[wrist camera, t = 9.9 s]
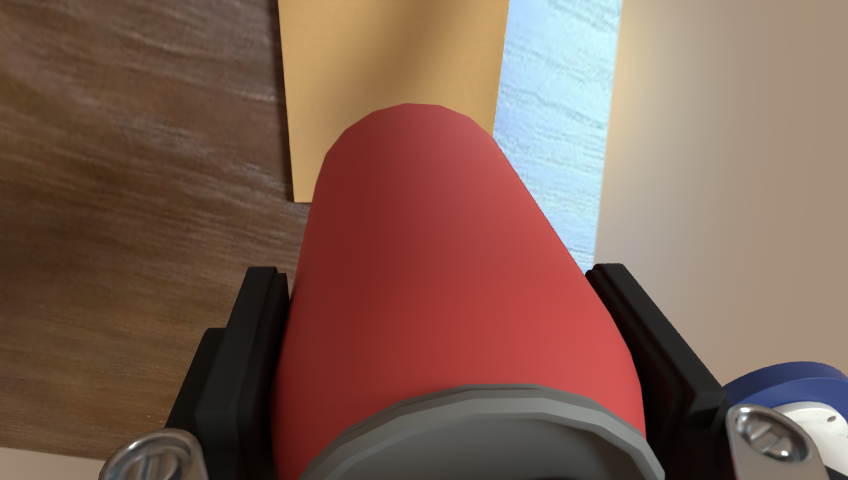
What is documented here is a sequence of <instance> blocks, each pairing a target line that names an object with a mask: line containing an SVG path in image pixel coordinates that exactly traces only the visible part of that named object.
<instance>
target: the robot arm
mask: <svg viewBox="0 0 848 480" xmlns="http://www.w3.org/2000/svg"><path fill="white" fill-rule="evenodd" d="M585 277H586V279H587V280H588V282H589V283H590V285H591V286H592V288H593V289H594V291H595V292H596V294H597V295H598V297H599V298H600V300H601V301H602V303H603V304H604V306H605V307H606V309H607V310H608V312H609V313H610V315H611V317H612V319H613V321H614V323H615V325H616V326H617V328H618V330H619V332H620V334H621V336H622V338H623V340H624V341H625V343H626V345H627V347H628V349H629V351H630V353H631V356H632V360H633V363H634V366H635V369H636V372H637V375H638V379H639V382H640V385H641V393H642V401H643V410H644V419H645V431H646V441H647V443H648V445H649V446H650V448H651V450H652V451H653V453H654V455H655V457H656V458H657V460H658V462H659V463H660V465H661V467H662V469H663V470H664V472H665V480H848V438H847V437H848V424H847V422H846V420H845V419H844V418H843V417H842V416H841V415H840V414H839V413H838V412H837V411H836V410H835V409H834V408H832V407H831V406H829V405H826V404H823V403H820V402H811V401H804V402H793V403H788V404H783V405H780V406H777V407H773V408H771V409H770V408H768V407H765V406H762V405H756V404H750V403H746V404H737V405H735V406H733V405H732V404H731V403H730V401H729V400H728V399H727V398H726V396H725V395H726V391H725V390H724V389H723V388H722V387H721V385H720V384H719V383H718V381H717V380H716V379H715V378H714V376H713V375H712V374H711V373H710V371H709V370H708V369H707V368H706V366H705V365H704V364H703V363H702V362H701V360H700V359H699V358H698V357H697V355H696V354H695V353H694V352H693V350H692V349H691V348H690V347H689V345H688V344H687V343H686V342H685V340H684V339H683V338H682V337H681V336H680V334H679V333H678V332H677V331H676V329H675V328H674V327H673V326H672V324H671V323H670V322H669V321H668V319H667V318H666V317H665V316H664V315H663V313H662V312H661V311H660V309H659V308H658V307H657V306H656V305H655V303H654V302H653V301H652V300H651V298H650V297H649V296H648V295H647V293H646V292H645V291H644V290H643V288H642V287H641V286H640V285H639V283H638V282H637V281H636V280H635V279H634V277H633V276H632V275H631V274H630V272H629V271H628V270H627V269H626V267H625V266H624V265H623V264H619V263H618V264H617V263H614V264H609V263H607V264H596V265H594V267H593V269H592V270H588V271H587V272H586V274H585ZM288 306H289V293H288V283H287V276H286V273H278V271H277V268H276V267H249V268H248V270H247V272H246V275H245V278H244V281H243V283H242V286H241V289H240V291H239V294H238V297H237V299H236V302H235V305H234V308H233V310H232V313H231V316H230V318H229V321H228V324H227V326H226V328H208V329H207V330H206V331H205V333H204V335H203V337H202V339H201V342H200V344H199V347H198V349H197V351H196V354H195V356H194V358H193V361H192V363H191V366H190V368H189V370H188V373H187V375H186V377H185V380H184V382H183V385H182V387H181V389H180V392H179V394H178V396H177V399H176V401H175V403H174V406H173V408H172V411H171V413H170V415H169V418H168V420H167V422H166V425H165V427H164V428H160V429H156V430H152V431H148V432H145V433H143V434H141V435H138V436H136V437H134V438H132V439H130V440H129V441H127V442H126V443H125V444H123V445H122V446H120V447H119V448H118V449H117V450H116V451H115V452H114V453H113V454H112V455H111V456H110V457H109V458H108V459H107V460H106V462H105V464H104V466H103V468H102V470H101V472H100V473H99V479H98V480H276V477H275V473H274V463H273V453H272V443H271V432H270V416H269V401H268V397H269V392H270V387H271V383H272V378H273V374H274V369H275V365H276V360H277V356H278V351H279V347H280V342H281V338H282V333H283V329H284V324H285V320H286V315H287V311H288Z"/></svg>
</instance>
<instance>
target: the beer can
mask: <svg viewBox="0 0 848 480" xmlns="http://www.w3.org/2000/svg"><path fill="white" fill-rule="evenodd" d="M268 401H269V416H270V432H271V443H272V453H273V463H274V473H275V477H276V480H665V472H664V470H663V469H662V467H661V465H660V463H659V462H658V460H657V458H656V457H655V455H654V453H653V451H652V450H651V448H650V446H649V445H648V443H647V441H646V431H645V419H644V410H643V401H642V393H641V385H640V382H639V379H638V375H637V372H636V369H635V366H634V363H633V360H632V356H631V353H630V351H629V349H628V347H627V345H626V343H625V341H624V340H623V338H622V336H621V334H620V332H619V330H618V328H617V326H616V325H615V323H614V321H613V319H612V317H611V315H610V313H609V312H608V310H607V309H606V307H605V306H604V304H603V303H602V301H601V300H600V298H599V297H598V295H597V294H596V292H595V291H594V289H593V288H592V286H591V285H590V283H589V282H588V280H587V279H586V277H585V276H584V274H583V273H582V271H581V270H580V268H579V267H578V265H577V264H576V262H575V261H574V259H573V258H572V256H571V255H570V253H569V252H568V250H567V248H566V247H565V245H564V244H563V242H562V241H561V239H560V238H559V236H558V235H557V233H556V232H555V230H554V229H553V227H552V226H551V224H550V223H549V221H548V220H547V218H546V217H545V215H544V214H543V212H542V211H541V209H540V208H539V206H538V205H537V203H536V202H535V200H534V199H533V197H532V196H531V194H530V193H529V191H528V190H527V188H526V187H525V185H524V184H523V182H522V181H521V179H520V178H519V176H518V175H517V173H516V172H515V170H514V169H513V167H512V166H511V164H510V163H509V161H508V159H507V158H506V156H505V155H504V153H503V152H502V150H501V149H500V147H499V146H498V144H497V143H496V141H495V140H494V138H493V137H492V136H491V135H490V134H489V133H487V132H486V131H485V130H484V129H483V128H482V127H480V126H479V125H478V124H477V123H476V122H475V121H474V120H472V119H471V118H470V117H468V116H466V115H463V114H461V113H458V112H456V111H453V110H451V109H448V108H446V107H443V106H441V105H432V104H415V103H404V104H400V105H396V106H392V107H389V108H385V109H381V110H377V111H373V112H372V113H370V114H368V115H367V116H365V117H364V118H362V119H361V120H359V121H358V122H356V123H355V124H353V125H351V126H350V127H348V128H347V129H345V130H344V132H343V133H342V134H341V135H340V137H339V138H338V139H337V140H336V142H335V143H334V144H333V146H332V147H331V148H330V149H329V151H328V152H327V153H326V154H325V157H324V160H323V163H322V166H321V169H320V172H319V175H318V178H317V181H316V184H315V189H314V193H313V198H312V202H311V207H310V211H309V216H308V220H307V225H306V229H305V234H304V238H303V243H302V247H301V252H300V256H299V261H298V266H297V270H296V275H295V279H294V284H293V288H292V293H291V297H290V302H289V306H288V311H287V315H286V320H285V324H284V329H283V333H282V338H281V342H280V347H279V351H278V356H277V360H276V365H275V369H274V374H273V378H272V383H271V387H270V392H269V397H268Z"/></svg>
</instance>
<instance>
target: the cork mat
mask: <svg viewBox="0 0 848 480" xmlns="http://www.w3.org/2000/svg"><path fill="white" fill-rule="evenodd" d="M509 1H510V0H278V10H279V22H280V34H281V46H282V58H283V71H284V83H285V95H286V107H287V119H288V131H289V144H290V156H291V168H292V180H293V192H294V202H312V198H313V193H314V189H315V184H316V181H317V178H318V175H319V172H320V169H321V166H322V163H323V160H324V157H325V154H326V153H327V152H328V151H329V149H330V148H331V147H332V146H333V144H334V143H335V142H336V140H337V139H338V138H339V137H340V135H341V134H342V133H343V132H344V130H345V129H347V128H348V127H350V126H351V125H353V124H355V123H356V122H358V121H359V120H361V119H362V118H364V117H365V116H367V115H368V114H370V113H372V112H373V111H377V110H381V109H385V108H389V107H392V106H396V105H400V104H404V103H415V104H432V105H441V106H443V107H446V108H448V109H451V110H453V111H456V112H458V113H461V114H463V115H466V116H468V117H470V118H471V119H472V120H474V121H475V122H476V123H477V124H478V125H479V126H480V127H482V128H483V129H484V130H485V131H486V132H487V133H489V134H490V135H491V136H492V137H493V130H494V122H495V114H496V106H497V98H498V90H499V82H500V73H501V65H502V57H503V49H504V41H505V33H506V25H507V17H508V9H509Z"/></svg>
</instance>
